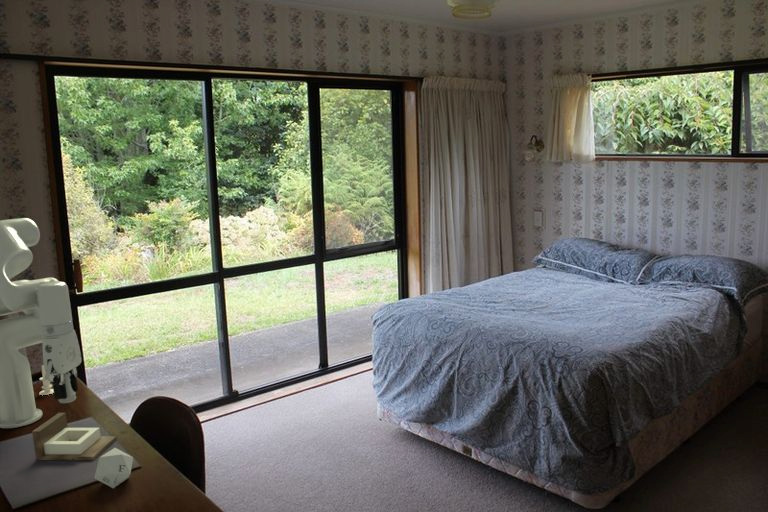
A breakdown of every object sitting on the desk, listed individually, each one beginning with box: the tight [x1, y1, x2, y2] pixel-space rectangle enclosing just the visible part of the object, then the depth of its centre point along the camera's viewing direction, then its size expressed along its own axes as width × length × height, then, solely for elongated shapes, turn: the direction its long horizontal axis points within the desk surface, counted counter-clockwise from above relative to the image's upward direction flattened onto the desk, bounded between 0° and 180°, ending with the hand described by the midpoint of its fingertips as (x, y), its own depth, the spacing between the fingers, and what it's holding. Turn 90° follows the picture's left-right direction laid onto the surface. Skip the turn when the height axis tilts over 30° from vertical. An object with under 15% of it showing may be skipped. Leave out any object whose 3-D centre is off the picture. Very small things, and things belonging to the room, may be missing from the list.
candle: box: [38, 364, 54, 397], centre depth 221 cm, size 5×5×10 cm
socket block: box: [44, 427, 101, 454], centre depth 178 cm, size 10×10×3 cm
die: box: [93, 447, 134, 489], centre depth 159 cm, size 8×9×10 cm
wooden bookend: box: [31, 412, 118, 461], centre depth 178 cm, size 16×12×8 cm
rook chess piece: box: [57, 372, 77, 404], centre depth 175 cm, size 4×4×8 cm
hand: (66, 394), depth 176 cm, fingers closed on rook chess piece, 4 cm apart
